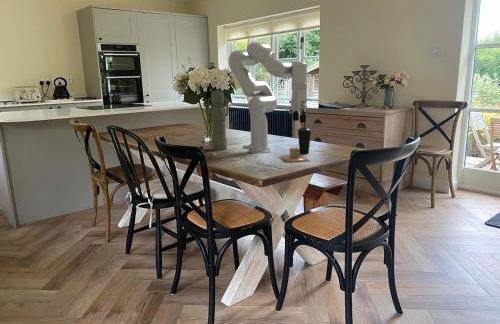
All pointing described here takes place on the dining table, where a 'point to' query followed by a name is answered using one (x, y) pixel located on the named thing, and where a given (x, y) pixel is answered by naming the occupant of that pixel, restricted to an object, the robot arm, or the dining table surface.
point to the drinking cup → (304, 139)
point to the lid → (294, 156)
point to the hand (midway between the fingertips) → (299, 121)
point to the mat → (294, 162)
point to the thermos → (218, 120)
